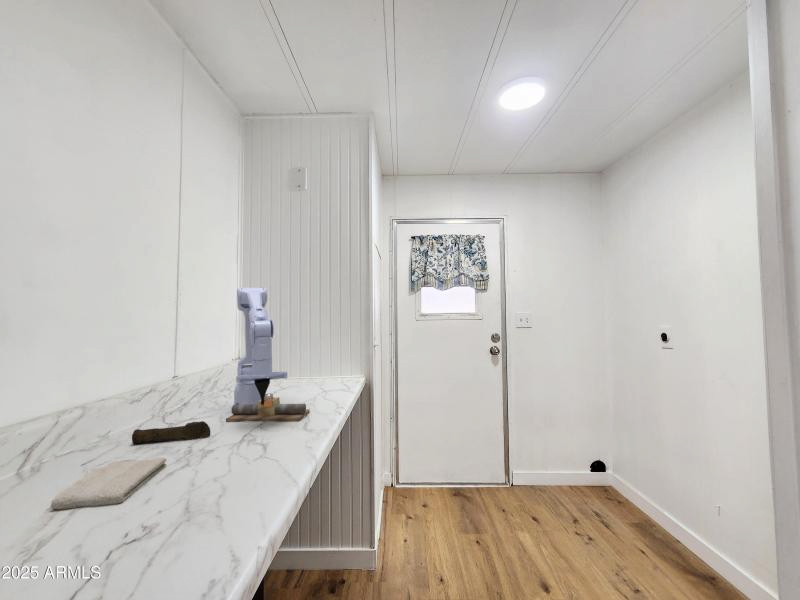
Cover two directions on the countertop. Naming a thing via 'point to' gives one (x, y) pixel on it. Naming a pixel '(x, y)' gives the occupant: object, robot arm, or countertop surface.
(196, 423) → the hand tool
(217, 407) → the countertop surface
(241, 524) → the countertop surface
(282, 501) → the countertop surface
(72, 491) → the washcloth
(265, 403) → the valve lever
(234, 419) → the valve board
